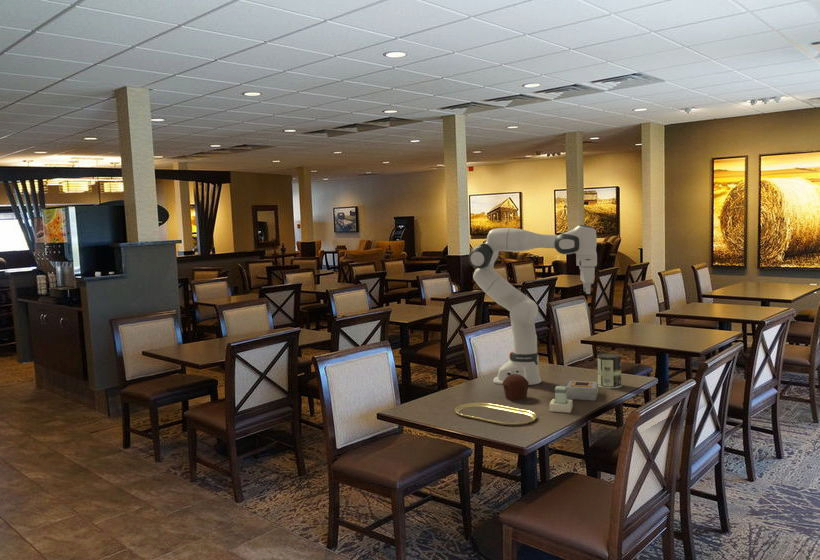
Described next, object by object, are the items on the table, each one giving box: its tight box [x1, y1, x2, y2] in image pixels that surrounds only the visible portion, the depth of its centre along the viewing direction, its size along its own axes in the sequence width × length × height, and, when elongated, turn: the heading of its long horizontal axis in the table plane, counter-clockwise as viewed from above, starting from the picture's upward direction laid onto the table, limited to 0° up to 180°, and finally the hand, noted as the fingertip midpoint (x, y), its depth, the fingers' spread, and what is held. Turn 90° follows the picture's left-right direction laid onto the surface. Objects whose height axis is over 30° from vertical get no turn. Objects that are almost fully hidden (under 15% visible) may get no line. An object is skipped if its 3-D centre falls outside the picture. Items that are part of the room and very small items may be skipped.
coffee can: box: [596, 352, 622, 389], centre depth 291 cm, size 10×10×14 cm
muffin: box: [501, 374, 529, 402], centre depth 277 cm, size 12×11×10 cm
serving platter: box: [454, 402, 538, 427], centre depth 254 cm, size 19×35×2 cm, turn 48°
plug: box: [554, 385, 568, 404], centre depth 258 cm, size 4×4×9 cm
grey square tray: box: [549, 398, 573, 414], centre depth 258 cm, size 8×8×3 cm
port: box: [566, 380, 599, 401], centre depth 276 cm, size 12×12×5 cm
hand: (586, 292), depth 285 cm, fingers open, 8 cm apart
